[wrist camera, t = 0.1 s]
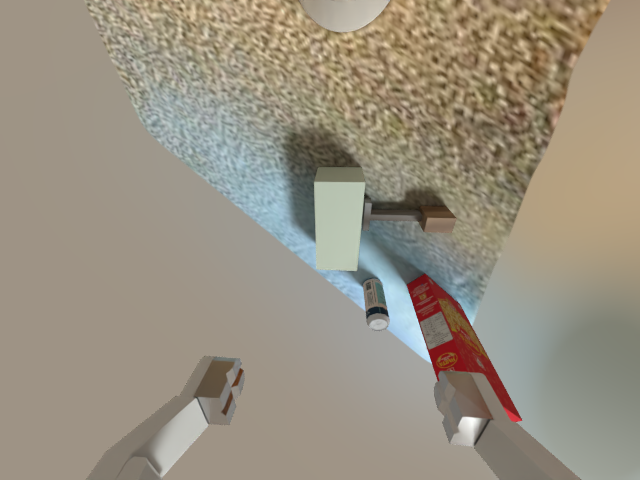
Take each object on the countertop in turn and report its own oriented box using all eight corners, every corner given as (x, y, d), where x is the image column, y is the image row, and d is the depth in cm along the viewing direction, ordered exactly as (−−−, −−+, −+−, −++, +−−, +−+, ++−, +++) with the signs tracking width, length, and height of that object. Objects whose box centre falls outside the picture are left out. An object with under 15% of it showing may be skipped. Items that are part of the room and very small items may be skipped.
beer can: (361, 289, 60) (364, 330, 50) (364, 276, 58) (369, 316, 48) (379, 292, 60) (387, 333, 50) (384, 278, 58) (393, 319, 48)
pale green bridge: (318, 166, 44) (313, 181, 37) (361, 167, 43) (365, 182, 37) (319, 246, 54) (316, 269, 47) (355, 247, 53) (357, 270, 47)
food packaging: (460, 304, 60) (522, 420, 40) (441, 314, 63) (491, 427, 42) (425, 273, 56) (474, 386, 35) (406, 284, 58) (442, 396, 37)
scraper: (364, 197, 47) (366, 209, 42) (448, 199, 45) (459, 210, 41) (361, 224, 50) (363, 237, 46) (440, 226, 49) (449, 239, 45)
